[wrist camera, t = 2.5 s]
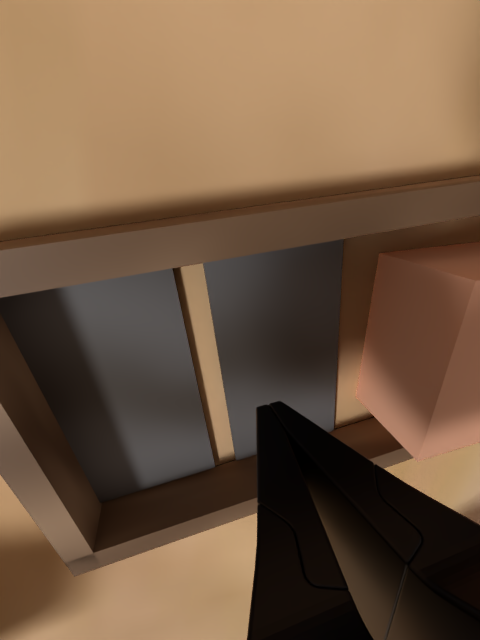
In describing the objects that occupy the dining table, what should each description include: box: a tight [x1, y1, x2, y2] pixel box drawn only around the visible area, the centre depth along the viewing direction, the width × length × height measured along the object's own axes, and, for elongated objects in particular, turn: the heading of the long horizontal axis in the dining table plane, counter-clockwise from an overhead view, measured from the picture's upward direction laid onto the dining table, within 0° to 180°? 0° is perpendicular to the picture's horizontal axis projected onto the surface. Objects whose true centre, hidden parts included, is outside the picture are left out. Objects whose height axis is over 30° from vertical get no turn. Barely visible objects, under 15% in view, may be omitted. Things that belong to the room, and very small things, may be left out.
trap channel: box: [0, 175, 480, 576], centre depth 11 cm, size 12×34×4 cm, turn 96°
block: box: [356, 242, 480, 462], centre depth 12 cm, size 7×7×4 cm
